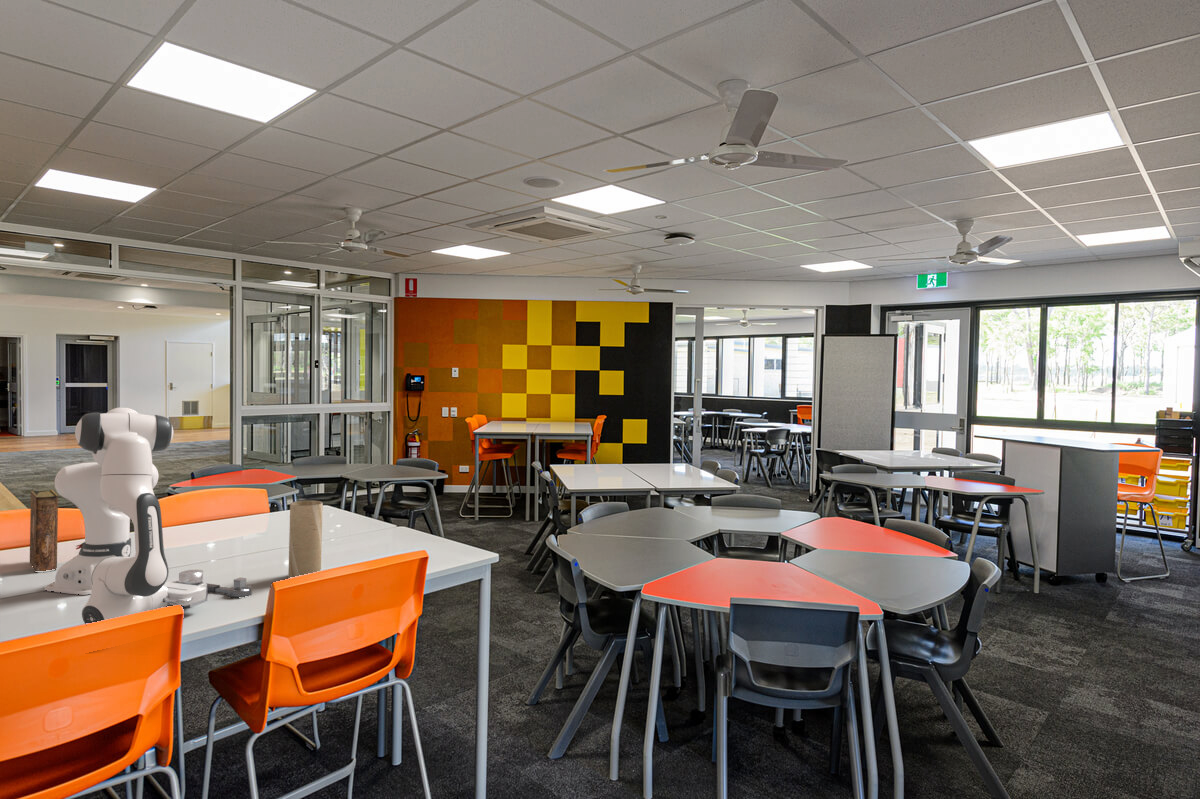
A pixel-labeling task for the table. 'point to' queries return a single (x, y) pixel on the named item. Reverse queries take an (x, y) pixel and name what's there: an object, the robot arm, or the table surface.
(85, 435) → the robot arm
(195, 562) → the table surface
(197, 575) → the grey block with cylinder
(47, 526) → the book
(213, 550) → the table surface
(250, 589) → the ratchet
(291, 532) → the tube
